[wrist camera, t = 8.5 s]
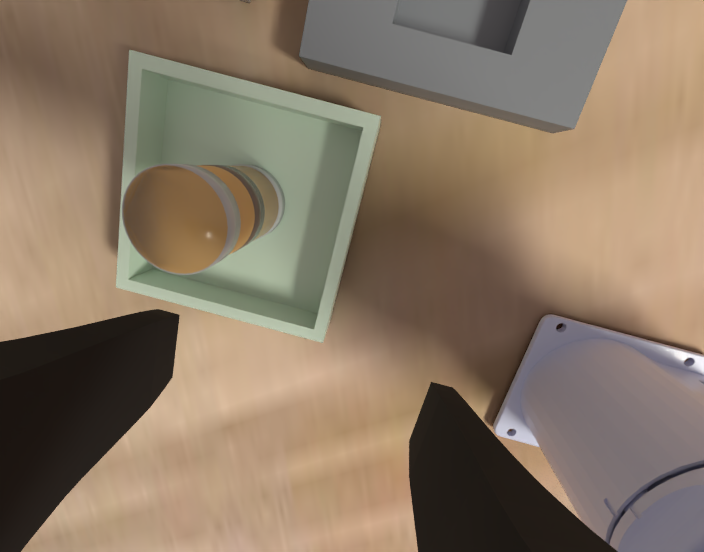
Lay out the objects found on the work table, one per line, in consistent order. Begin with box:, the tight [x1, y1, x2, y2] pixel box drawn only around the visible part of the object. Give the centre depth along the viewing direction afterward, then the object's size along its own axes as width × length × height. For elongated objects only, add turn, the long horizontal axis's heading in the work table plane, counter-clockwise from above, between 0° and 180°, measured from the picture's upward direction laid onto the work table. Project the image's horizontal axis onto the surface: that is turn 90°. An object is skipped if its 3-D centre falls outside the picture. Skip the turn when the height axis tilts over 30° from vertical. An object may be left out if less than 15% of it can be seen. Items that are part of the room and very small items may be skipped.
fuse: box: [122, 164, 285, 275], centre depth 15 cm, size 4×4×7 cm
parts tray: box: [116, 50, 381, 343], centre depth 18 cm, size 11×11×2 cm
